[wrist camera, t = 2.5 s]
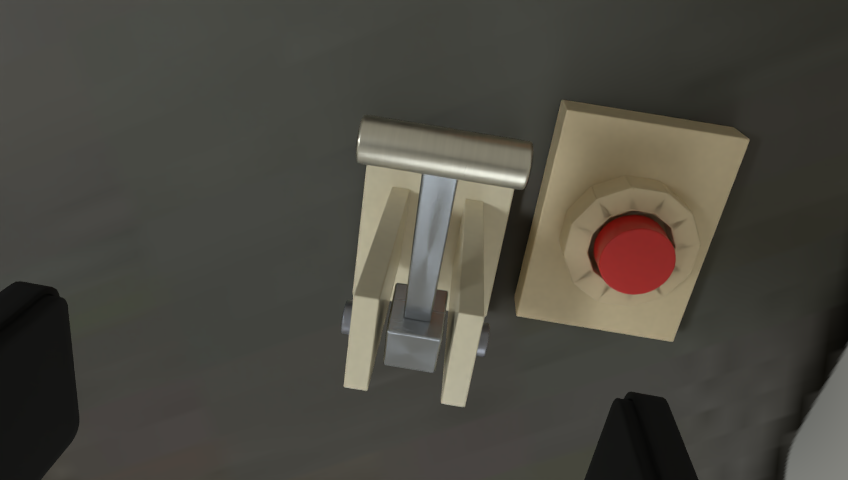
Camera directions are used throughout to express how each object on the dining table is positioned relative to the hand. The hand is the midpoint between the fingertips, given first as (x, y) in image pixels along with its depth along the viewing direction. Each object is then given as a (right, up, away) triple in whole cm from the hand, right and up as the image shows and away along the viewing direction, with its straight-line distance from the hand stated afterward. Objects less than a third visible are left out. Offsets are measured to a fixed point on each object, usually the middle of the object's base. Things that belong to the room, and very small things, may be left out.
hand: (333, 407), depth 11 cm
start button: (+12, +2, +21) cm, 25 cm away
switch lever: (+2, +3, +13) cm, 13 cm away
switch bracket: (+2, +4, +26) cm, 26 cm away
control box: (+12, +4, +25) cm, 28 cm away
